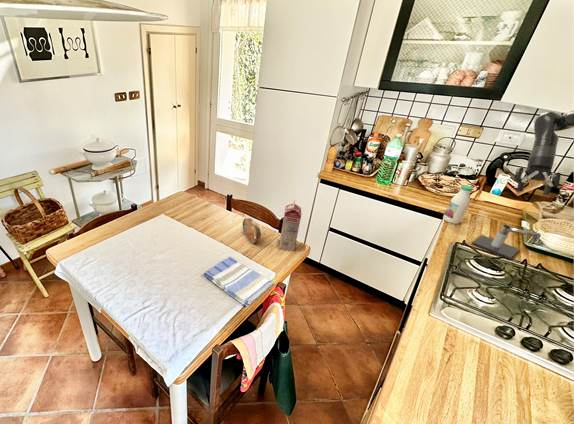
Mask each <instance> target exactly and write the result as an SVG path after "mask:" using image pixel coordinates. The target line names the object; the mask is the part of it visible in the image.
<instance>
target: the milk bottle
mask: <svg viewBox="0 0 574 424" xmlns="http://www.w3.org/2000/svg"><path fill="white" fill-rule="evenodd" d="M472 191H473V186H470V185H466V184H463V185H461V186H460V188H459V191H458V192H457V193H456V194H454V195H453V196H452V198H451V199H450V201H449V203H448V206H447V208H446V210H445V211H444V213H443V216H442V220H443V221H445V222H447V223H449V224H453V225H457V224H458V225H459V224H460V223H461V222H462V220H463V218H464V216H465V214H466V212H467V211H468V207H469V205H470V203H471V196H470V195H471V193H472Z"/></svg>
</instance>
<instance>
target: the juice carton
mask: <svg viewBox="0 0 574 424" xmlns="http://www.w3.org/2000/svg"><path fill="white" fill-rule="evenodd" d="M295 201H296V200H295V199H294V201H293V203H289V204H286V205H285V208H284V215H283V220H282V225H281V232H280V237H279V238H280V239H279V246H278V248H279V249H282V250H286V251H287V250H288V251H293V252H294V251H295V249H296V243H297V240H298V234H299V229H300V224H301V219H302V207H301V206H299V205H297V204H296V203H295Z"/></svg>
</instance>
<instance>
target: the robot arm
mask: <svg viewBox="0 0 574 424" xmlns="http://www.w3.org/2000/svg"><path fill="white" fill-rule="evenodd" d="M573 128H574V110H571V111H569V112H568V113H567V114H560V113H558V112H554V111H544V112H541V113H540V114H539V115H537V117H536V119H535V120H534V123H533V130H534V131H533V133H534V142H533V146H532V149H531V151H530V153H529V158H528V161H527V165H526V167H527V168H525V167H519V168H517V169H516V171H515V174H514V177H513V181H514V182H516V183H517V188H516V190H517V192H518V193H519V192H520V193H521V192H523V191H524V188H525V185H526V183H525V182H527V181H528V180H530V181H537V182H541V183H542V184H543V185H544V188H543V192H542V196H549V195H551V192H552V188H555V187H559V186H560V181H561V176H562V174H561V173H562V172H560V171H559V172H552V170H553V166H554V162H555V159H556V156H557V155H556V154H557V147H558V142H559V137H560V136H559V135H558V134H556V132H563V131H565V130H569V129H573ZM523 173H525V176H522V175H523ZM550 176H551V177H550ZM551 178H552V179H551Z"/></svg>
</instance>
